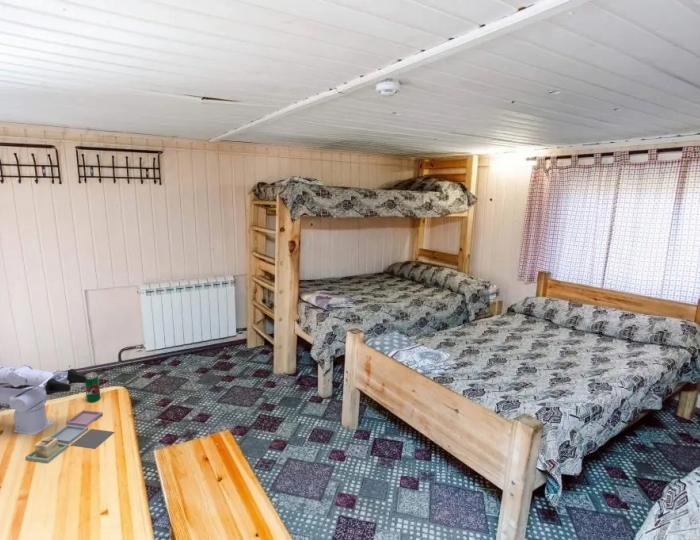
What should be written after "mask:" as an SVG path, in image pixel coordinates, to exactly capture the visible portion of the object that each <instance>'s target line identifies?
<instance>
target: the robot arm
mask: <svg viewBox="0 0 700 540" xmlns="http://www.w3.org/2000/svg"><path fill="white" fill-rule="evenodd" d="M86 379H87V377H85V375H83V374H81V373H79V372H77V370H76V369H75V368H70V369H69V370H67V371H60V370H59V369H55V370H53V371H47V370H40V369H36V368H35V369H34V368H33V367H32V366H31V365H28V364H24V365H20V366H19V367H16V366H11V367H8V366H4V365H0V384H10V385H11V386H13V387H14V388H13V387H12V388H11V387H1V386H0V403H1V404H8V405H9V407H10V410H14V412H13V422H14V427H15V429H14V430H13V433H15V434H16V433H18V434H27V435H33V436H36V435H38V434H39V433H40V432H42V431H44V430H45V429H46V428H47V427H49V426H51V425H53V423H54V421H51V420H48V419H47V413H46V406H45V404H46V403H47V399H48V398H49V396H50V395H52V394H56V393H57V394H58V393H64V392H65V393H66V392H70V391H71V384H85V382H86ZM67 380H68V383H65V382H66V381H67ZM19 386H27V387H23V388H20V389H19V388H17V387H19Z"/></svg>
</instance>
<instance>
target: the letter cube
mask: <svg viewBox="0 0 700 540" xmlns="http://www.w3.org/2000/svg"><path fill="white" fill-rule="evenodd" d="M33 447H34V450H35V452H36V457H42V458H49V457H50V456H52V455H53V454H54V453H56V452H57V451H58V450H59V446H58V439H57V438H50V436H49V437H48V436H46V437H44V438H43V439H41V440H40V441H38V442H37V443H36V444H34V446H33Z"/></svg>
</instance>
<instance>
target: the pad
mask: <svg viewBox="0 0 700 540" xmlns="http://www.w3.org/2000/svg"><path fill="white" fill-rule="evenodd" d="M115 433H116V431H109V430H103V429H96V428H95V429H94V428H91V429H88V430H87V431H86V432H85V433H83V434H82V435H81V436H80V437H78V438H77V439H76V440H74V441H73V442H72V443H70V444H69V446H70V447H78V448H84V449H93V450H96V449H97V448H99V446H101V445H102V444H103V443H104V442H105V441H107V439H109V438H111V436H113V434H115Z"/></svg>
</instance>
